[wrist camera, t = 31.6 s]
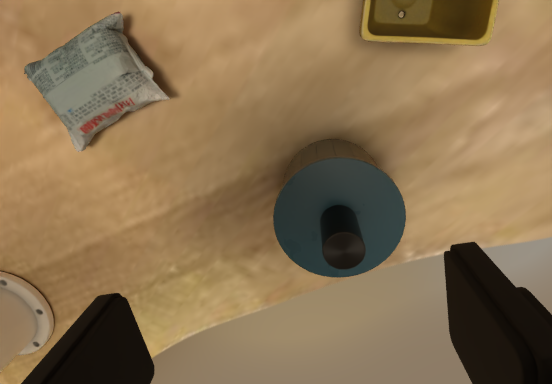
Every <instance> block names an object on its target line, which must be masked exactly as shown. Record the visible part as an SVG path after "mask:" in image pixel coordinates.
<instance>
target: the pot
mask: <svg viewBox="0 0 552 384" xmlns="http://www.w3.org/2000/svg"><path fill="white" fill-rule="evenodd" d="M329 157H352V158H357V159H361V160H364V161H366V162H369V163H371V164H373V165H375V166H376V167H378V166H377V164H376V163H375V161H374V160H373V158H372V157H371V156H370V155H369V154H368V153H367V152H366V151H365V150H363V149H362V148H361V147H359V146H357V145H356V144H354V143H351V142H348V141H345V140H339V139H327V140H321V141H318V142H315V143H312V144H310V145H308V146H307V147H305V148H304V149H302V150H301V151H300V152H299V153H298V154H297V155H296V156H295V157H294V158H293V159H292V161H291V162H290V164H289V166H288V168H287V171H286V173H285V176H284V181H283V186H284V184H285V183H286V182H287V181H288V179H289V178H290V177H291V176H292V175H293V174H294V173H296V172H297V171H298V170H300V169H301V168H302V167H304V166H306V165H308V164H310V163H312V162H315V161H317V160H320V159H324V158H329ZM282 188H283V187H282Z"/></svg>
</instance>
